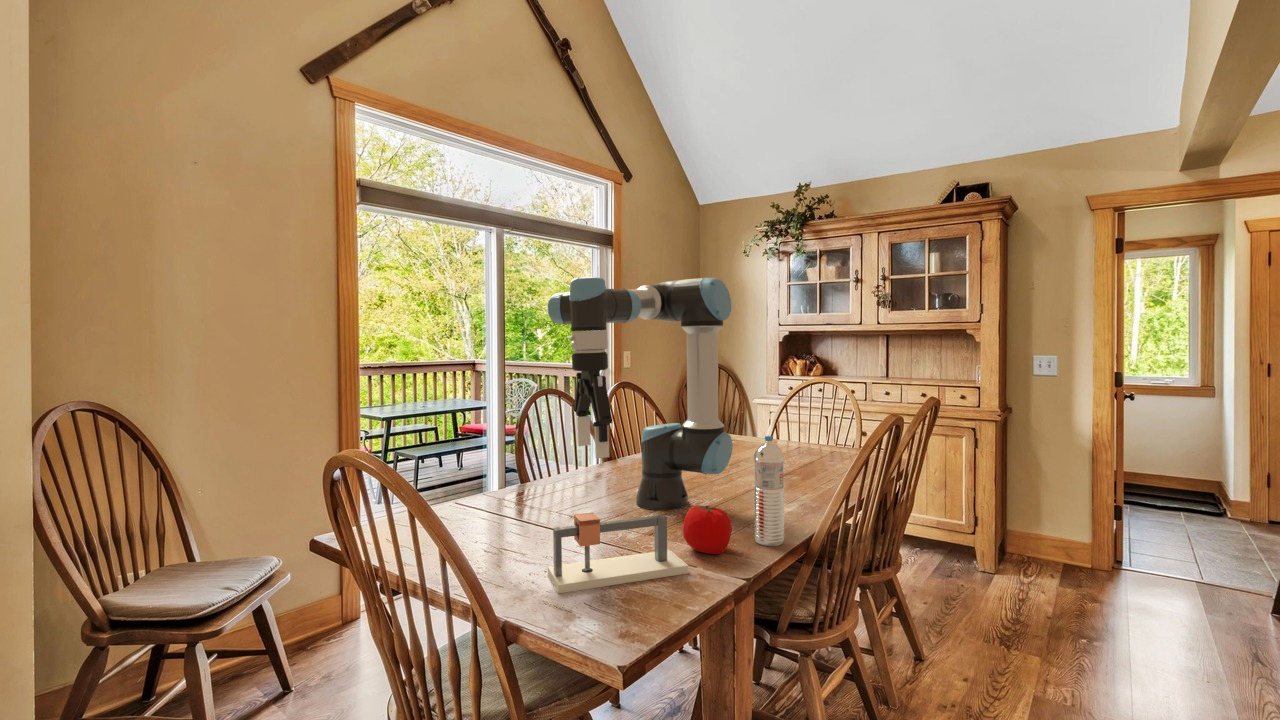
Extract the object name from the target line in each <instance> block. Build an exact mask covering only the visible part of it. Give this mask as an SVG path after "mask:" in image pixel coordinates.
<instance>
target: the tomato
mask: <svg viewBox="0 0 1280 720" xmlns="http://www.w3.org/2000/svg"><path fill="white" fill-rule="evenodd" d="M732 526H733V525H732V520H731V519H730V517H729V515H728V514H727V512H725V511H724V510H723V509H722V508H719V505H717V506H714V507H711V506H710V505H694V506H692V507H690V508H689V510H688V511H687V512H686V515H685V516H684V519H683V527H682V534H683V539H684V540H685V543H687V545H689V547H690V548H692V549H693V550H695V551H697V552H700V553H705V554H708V555H719V554H721V553H723V552H725V550H726V549H727V547H729V544H730V540H731V534H732V529H733V527H732Z"/></svg>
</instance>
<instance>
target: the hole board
mask: <svg viewBox="0 0 1280 720" xmlns="http://www.w3.org/2000/svg"><path fill="white" fill-rule="evenodd" d="M686 574H689V564H687V563H686V562H684V560H682V559H681V558H680V557H678V555H676V554H675V553H674V552H673V551H671V550H670V549H667V561H661V562H658V561H657V560H656V559H655V551H649V552H644V553H643V552H642V553H635V554H629V555H622V556H621V555H620V556H613V557H608V558H607V557H606V558H600V559H594V560H593V559H592V560H590V568H585V560H584V561H579V562H578V561H577V562H572V563H562V576H560V577H556V576H555V575H554V565H549V566H547V575H548V577H549V579H550V581H551V583H552V584H553V587H554V588H555V590H556V592H557V593H558V594H562V593H569V592H577V591H582V590H590V589H595V588H602V587H608V586H609V587H610V586H614V585H621V584H627V583H634V582H642V581H647V580H653V579H660V578H665V577H672V576H678V575H679V576H680V575H686Z"/></svg>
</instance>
